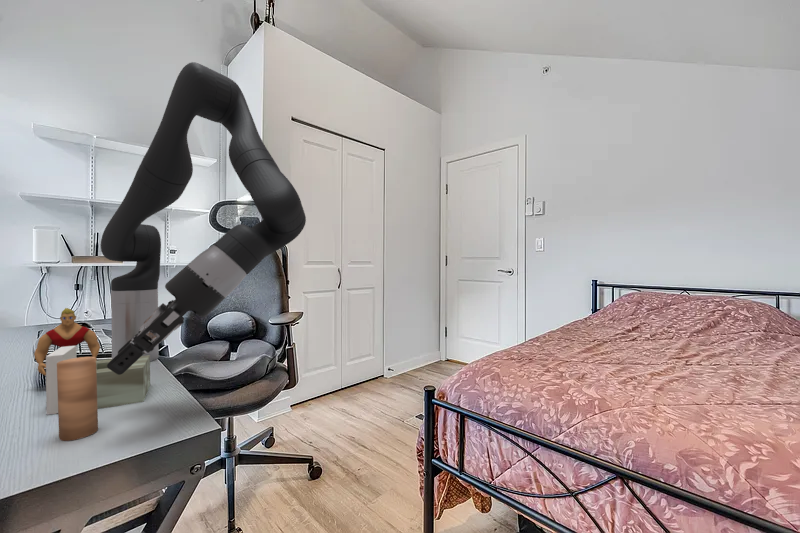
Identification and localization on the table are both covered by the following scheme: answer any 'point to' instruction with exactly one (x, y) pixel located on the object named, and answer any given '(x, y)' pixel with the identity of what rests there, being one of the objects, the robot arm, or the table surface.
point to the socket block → (122, 383)
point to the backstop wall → (55, 376)
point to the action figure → (65, 338)
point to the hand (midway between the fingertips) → (118, 363)
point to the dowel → (77, 398)
